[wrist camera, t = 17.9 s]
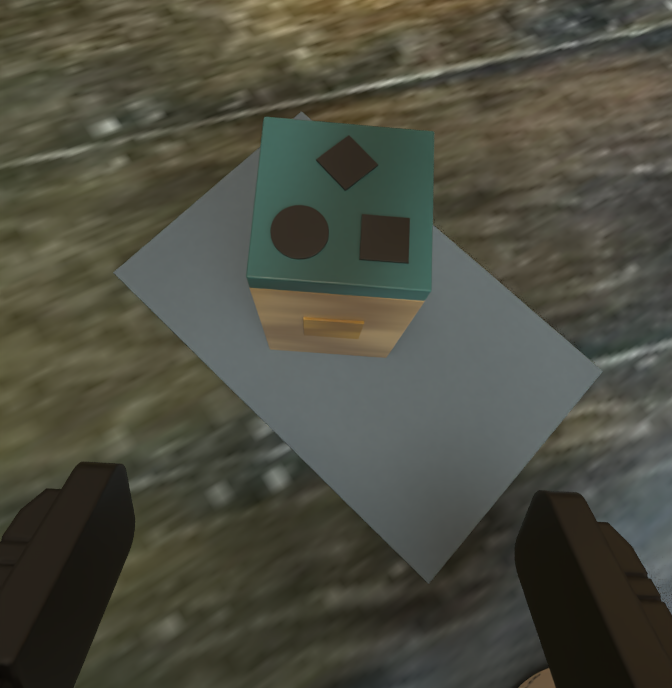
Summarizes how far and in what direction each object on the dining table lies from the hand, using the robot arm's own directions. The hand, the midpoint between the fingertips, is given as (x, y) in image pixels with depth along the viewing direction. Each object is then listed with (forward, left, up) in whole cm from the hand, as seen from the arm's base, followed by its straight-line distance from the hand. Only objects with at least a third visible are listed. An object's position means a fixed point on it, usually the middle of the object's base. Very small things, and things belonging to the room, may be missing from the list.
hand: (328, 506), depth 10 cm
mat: (-4, +7, -15) cm, 17 cm away
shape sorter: (-6, +7, -15) cm, 17 cm away
